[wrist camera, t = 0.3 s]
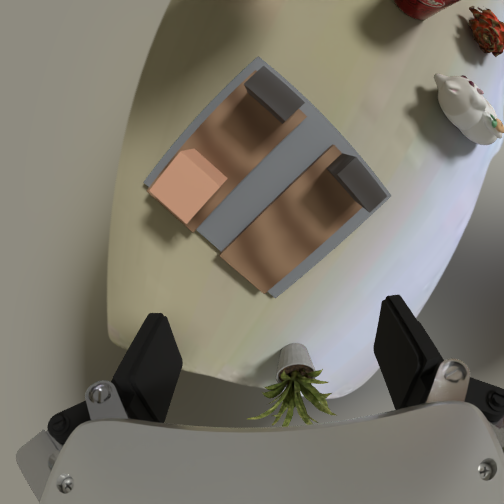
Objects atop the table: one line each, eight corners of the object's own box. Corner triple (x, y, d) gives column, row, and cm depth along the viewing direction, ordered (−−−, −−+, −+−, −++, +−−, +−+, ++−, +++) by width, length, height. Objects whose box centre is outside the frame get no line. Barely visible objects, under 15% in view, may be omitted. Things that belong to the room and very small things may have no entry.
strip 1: (255, 71, 30) (253, 57, 23) (306, 117, 32) (315, 112, 26) (149, 189, 37) (127, 201, 30) (195, 229, 39) (181, 249, 33)
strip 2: (332, 144, 33) (347, 146, 27) (373, 192, 36) (394, 205, 29) (220, 252, 40) (211, 275, 34) (264, 289, 43) (263, 317, 36)
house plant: (260, 382, 54) (257, 448, 39) (242, 336, 48) (233, 409, 33) (327, 371, 52) (339, 436, 37) (320, 321, 46) (337, 394, 31)
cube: (194, 148, 33) (180, 151, 28) (227, 178, 35) (220, 186, 29) (166, 181, 35) (149, 190, 30) (198, 210, 37) (186, 224, 31)
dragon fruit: (466, 55, 26) (467, 18, 23) (506, 73, 22) (504, 34, 19) (468, 26, 19) (466, -9, 16) (514, 47, 15) (508, 8, 12)
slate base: (258, 58, 30) (258, 56, 29) (388, 194, 37) (391, 195, 36) (146, 181, 38) (143, 182, 37) (275, 295, 44) (275, 298, 44)
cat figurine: (521, 141, 22) (471, 73, 19) (491, 170, 28) (438, 113, 25) (493, 110, 27) (441, 53, 24) (468, 137, 34) (414, 86, 30)
